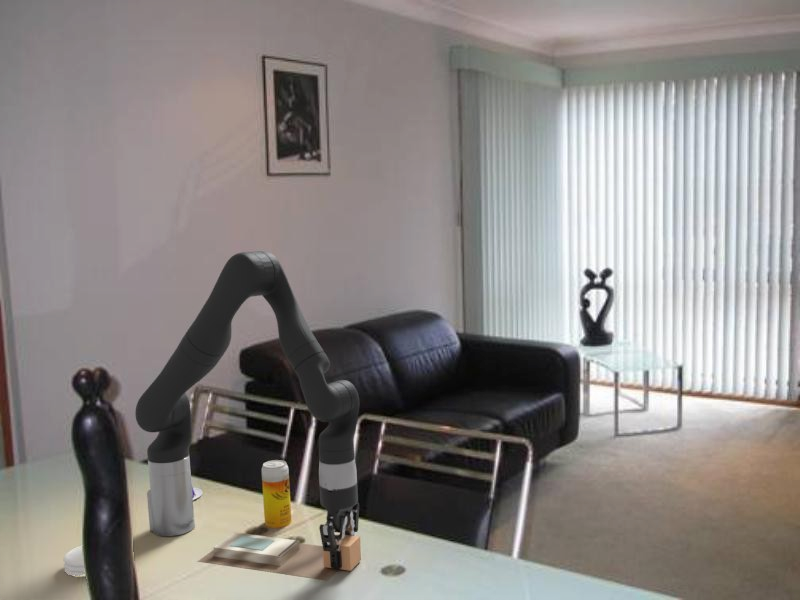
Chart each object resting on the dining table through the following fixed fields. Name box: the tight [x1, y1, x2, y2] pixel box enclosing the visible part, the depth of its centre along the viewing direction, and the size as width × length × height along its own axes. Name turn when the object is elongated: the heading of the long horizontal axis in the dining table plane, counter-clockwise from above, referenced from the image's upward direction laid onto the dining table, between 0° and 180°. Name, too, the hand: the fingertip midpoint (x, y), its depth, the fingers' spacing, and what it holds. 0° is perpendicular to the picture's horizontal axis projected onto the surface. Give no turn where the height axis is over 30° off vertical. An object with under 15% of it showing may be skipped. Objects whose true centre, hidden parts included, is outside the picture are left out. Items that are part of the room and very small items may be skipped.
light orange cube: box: [323, 533, 362, 572], centre depth 169 cm, size 6×5×5 cm
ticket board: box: [197, 532, 339, 581], centre depth 175 cm, size 30×14×3 cm, turn 68°
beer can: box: [261, 459, 292, 529], centre depth 192 cm, size 6×6×15 cm
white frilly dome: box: [63, 545, 85, 576], centre depth 176 cm, size 10×10×4 cm
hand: (342, 561), depth 169 cm, fingers closed on light orange cube, 5 cm apart
